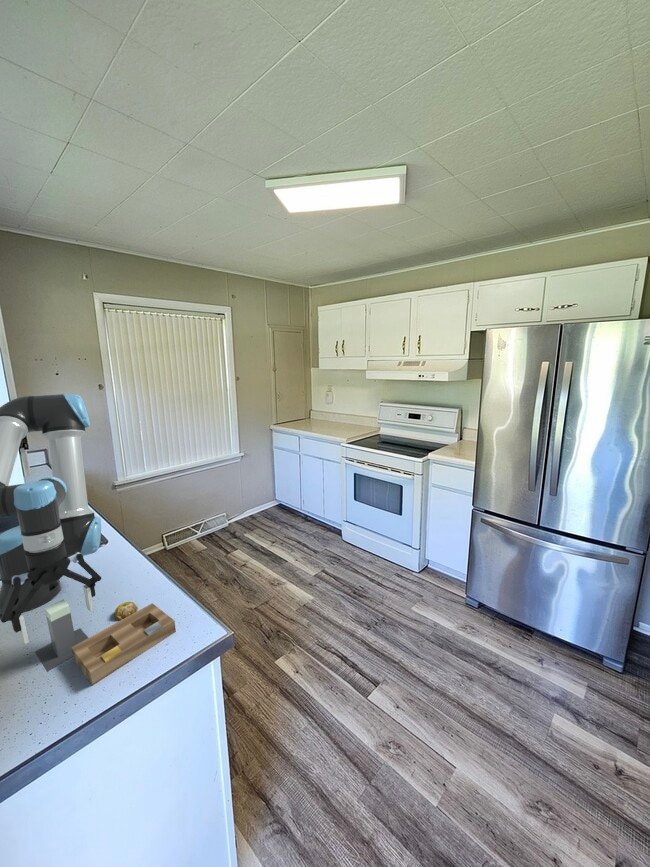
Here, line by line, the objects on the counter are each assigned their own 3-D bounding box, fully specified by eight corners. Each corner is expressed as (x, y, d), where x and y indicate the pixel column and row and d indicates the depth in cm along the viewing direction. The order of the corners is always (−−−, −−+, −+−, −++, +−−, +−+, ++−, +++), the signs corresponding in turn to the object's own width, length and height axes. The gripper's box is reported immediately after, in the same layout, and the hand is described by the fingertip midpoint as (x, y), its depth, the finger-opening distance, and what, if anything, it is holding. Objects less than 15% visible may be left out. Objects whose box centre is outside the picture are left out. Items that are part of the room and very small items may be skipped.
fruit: (119, 632, 96) (117, 620, 96) (106, 620, 101) (104, 608, 101) (149, 615, 103) (148, 603, 102) (135, 604, 108) (134, 593, 107)
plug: (53, 649, 90) (44, 607, 88) (71, 639, 93) (63, 599, 91) (58, 657, 87) (49, 614, 85) (76, 646, 91) (69, 605, 88)
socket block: (73, 661, 87) (71, 646, 86) (153, 615, 102) (152, 602, 101) (93, 687, 80) (90, 671, 79) (176, 633, 95) (174, 619, 94)
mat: (35, 653, 89) (34, 651, 89) (80, 629, 97) (80, 628, 97) (47, 673, 83) (47, 671, 83) (94, 646, 91) (94, 644, 91)
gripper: (-24, 575, 73) (-3, 664, 76) (107, 530, 92) (119, 602, 96) (-31, 564, 77) (-11, 648, 81) (96, 523, 97) (107, 593, 100)
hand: (59, 624), depth 88 cm, fingers open, 13 cm apart
